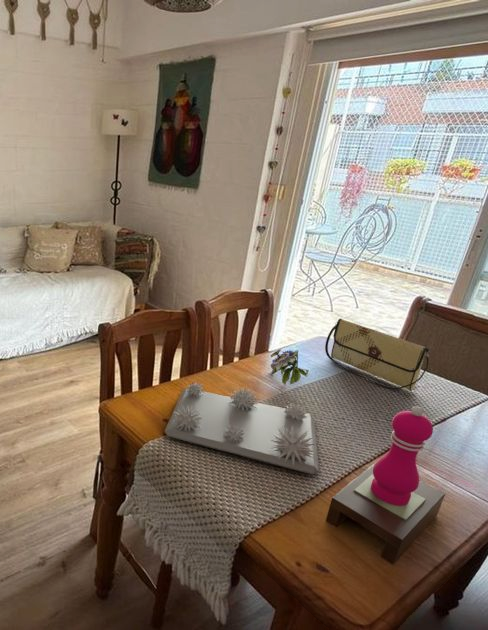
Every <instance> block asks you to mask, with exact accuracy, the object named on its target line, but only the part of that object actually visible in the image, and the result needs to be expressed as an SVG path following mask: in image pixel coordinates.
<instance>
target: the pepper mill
mask: <svg viewBox="0 0 488 630" xmlns="http://www.w3.org/2000/svg"><path fill="white" fill-rule="evenodd" d="M391 428H392V430H393V431H392V432H391V435H390V441H391V446H390V448H389V449H388V451H387V452H386V453H385V454H384V455H383V456H382V457H380V458H379V459H377V461H375V463H376V464H375V465H374V468H373V475H374V477H375V478H374V479H373V481H372V484H371V490H372V492H373V493H374V495H375V496H377V497H378V498H379V499H381V500H383V501H384V502H387V503H389V504H392V505H397V506H403V505H406V504H408V503H409V500H410V497H411V492H414V491H415V490H416V489H417V488H418V485H419V480H420V474H419V469H418V466H417V456H418V453H419V452H421V451H423V450H424V447H425V445H426V441H427V440H429V439H431V437H432V436H433V432H434V425H433V423H432V421H431V420H430V419H429V418H428V417H426V415H424V409H423V408H421V407H420V406H413V407H411V409H410V410H402V411H400V412H397V413H396V414H395V415H394V416H393V418H392V420H391Z"/></svg>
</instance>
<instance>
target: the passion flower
mask: <svg viewBox="0 0 488 630" xmlns="http://www.w3.org/2000/svg"><path fill="white" fill-rule="evenodd" d="M282 350H283V349H282V348H279V349H277V350H276V351H274V352H273V353H272V354H270V358H273V357H275V356H276V357H275V358H274V359H272V363H271V364H270V368H271V369H272V370H271V371H270V374H271V375H273V374H276V373H277V372H278V371H280V374H281V375H282V377H281V383H282V384H283V385H284V386H286V385H287V382H288V381H289V380H290V381H289V385H293V384H295V383H298V382H299V381H300V380H301V378H302V376H304V377H305V378H307V377H308V374H309V371H310V369H306V368H305V369H304V368H300V367H299V366H298V365H299V350H297V349H296V350H295V351H294V350H285V351H282ZM281 351H282V353H280V352H281ZM301 375H302V376H301Z"/></svg>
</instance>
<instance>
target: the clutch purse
mask: <svg viewBox="0 0 488 630" xmlns="http://www.w3.org/2000/svg"><path fill="white" fill-rule="evenodd" d="M332 334H333V343H332V348H331V354H329V342H330V339H331V337H332ZM324 350H325V354H326V356H327V357H328V359H329V360H330V361H331V362H333V363H334V364H335V365H337V366H338V367H340V368H341V369H343V370H345V371H347V372H349V373H350V374H353V375H355V376H356V377H358V376H360V377H363V378H365V379H368V380H370V381H372V382H374V383H375V384H374V383H373V384H374V385H377V386H380V387H383V388H386V389H390V390H399V389H400V390H401V389H403V388H404V389H406V390H409V392H412V391H413V390H414V388H415V386H416V384H417V382H419V381H420V380H421V379H422V378H423V376H424V374H425V373H426V372H427V369H428V367H429V357H430V355H429V354H428V352H429V350H430V349H429V347H426V346H423V345H420V344H416V343H414V342H411V341H408V340H405V339H403V338H399V337H396V336H393V335H390V334H387V333H385V332H381V331H378V330H375V329H372V328H371V327H366V326H363V325H360V324H357V323H355V322H351V321H349V320H346V319H343V318H339V319H338V320H337V321H336V322H335V324H334V326H333V327H332V328H331V330H330V331H329V333H328V335H327V337H326V340H325V344H324ZM425 359H426V364H425V368H424V370H423V372H422V373H420V372H421V370H422V367H423V363H424V360H425ZM337 361H339V362H341V363H344V364H347V365H349V366H351V367H353V368H356V369H358V370H361V371H363V372H365V373H368V374H370V375H373V376H375V377H378V378H380V379H382V380H385V381H387V382H390V383H392V384H394V385H396V386H399V387H392V386H388V385H386V384H382V383H380V382H377V381H374V380H371V379H370V378H367V377H365V376H363V375H361V374H359V373H357V372H354V371H353V370H351V369H349V368H347V367H345V366H344V365H342V364H341V363H339V362H337ZM420 374H421V375H420ZM419 375H420V377H419ZM360 377H359V378H360ZM365 379H364V380H365ZM372 382H371V383H372Z"/></svg>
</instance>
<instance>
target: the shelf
mask: <svg viewBox="0 0 488 630" xmlns="http://www.w3.org/2000/svg"><path fill="white" fill-rule="evenodd" d="M375 464H376V462H374V463H373V464H371V465H370V466H369V467H368V468H367V469H365V470H364V471H363V472H362V473H360V474H359V475H358V476H357V477H356V478H354V479H353V480H351V481H350V482H349V483H348V484H347V485H346V486H344V487H343V488H341V490H340V491H338V492H336V494H334V495H333V496H332V497H331V500H330V503H329V508H328V511H327V515H326V518H325V521H326V522H327V523H329V524H330V525H331V526H333V527H335V528H337V527H338V526H339V525H340V524H341V523H343V521H345V520H346V519H347V518H350V519H351V520H352V521H354V522H356V523H358V524H360V525H361V526H363V527H364V528H366V529H367V530H369V531H371V532H372V533H374V534H376V535H377V536H379V537H381V538H382V539H383V540H385V543H384V547H383V549H382V553H381V556H380V557H381V558H382V559H383V560H385V561H387V562H388V563H390V564H391V565H395V563H397V561H398V560H399V559H400V558H401V557H402V556H403V554H404V553H406V552H407V550H408V549H409V548H410V547H411V546H412V545H413V543H414V542H415V541H416V540H417V539H418V538H419V536H421V534H422V533H423V532H424V531H425V530H426V529H427V528H428V527H429V525H431V524H432V522H433V521H434V520H435V519H436V518H437V516H438V514H439V512H440V509H441V508H442V504H443V501H444V499H445V496H446V492H444V491H442V490H440V489H439V488H437V487H435V486H432V485H431V484H429V483H427V482H424V481H423V480H420V479H419V485H418V488H417V489H416V490H415V491H414V492H411V497H410V500H409V503H408V504H406V505H403V506H397V505H392V504H389V503H387V502H384V501H383V500H381V499H379V498H378V497H377V496H375V495H374V493H373V492H372V490H371V484H372V481H373V479H374V478H375V477H374V475H373V468H374V465H375Z"/></svg>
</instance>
